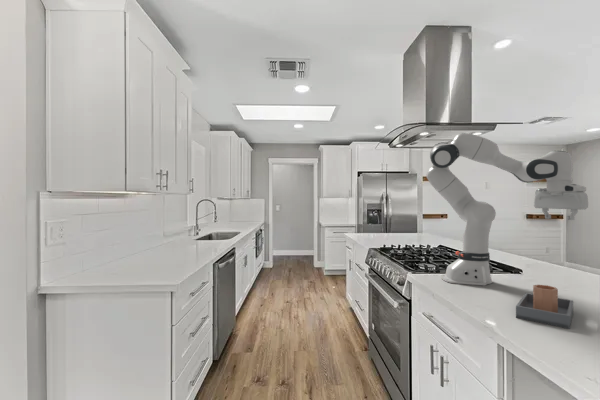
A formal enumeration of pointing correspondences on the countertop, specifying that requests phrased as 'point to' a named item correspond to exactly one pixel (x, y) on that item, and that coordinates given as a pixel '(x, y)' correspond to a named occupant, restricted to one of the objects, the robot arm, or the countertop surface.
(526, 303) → the tray
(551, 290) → the cup
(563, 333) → the countertop surface
